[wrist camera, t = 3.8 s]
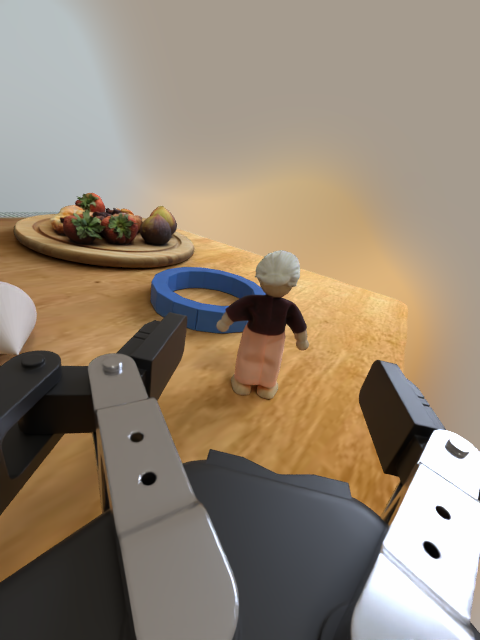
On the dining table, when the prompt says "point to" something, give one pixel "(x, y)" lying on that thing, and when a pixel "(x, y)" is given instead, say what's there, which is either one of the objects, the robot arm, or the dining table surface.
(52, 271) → the dining table surface
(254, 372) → the grandmother figurine
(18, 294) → the ice cream cone
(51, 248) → the wooden plate
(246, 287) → the tape ring
